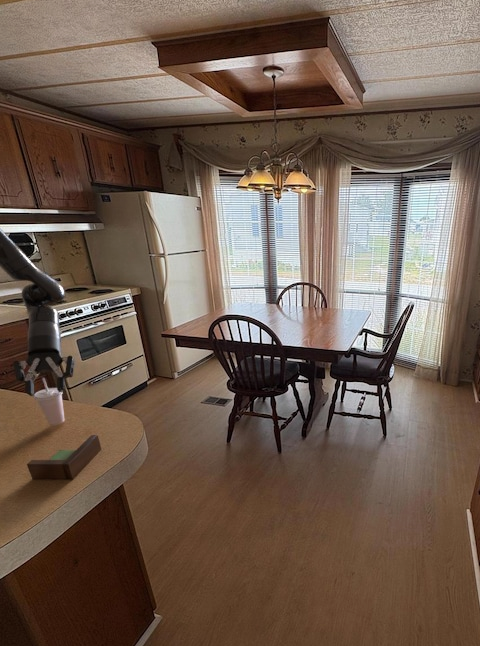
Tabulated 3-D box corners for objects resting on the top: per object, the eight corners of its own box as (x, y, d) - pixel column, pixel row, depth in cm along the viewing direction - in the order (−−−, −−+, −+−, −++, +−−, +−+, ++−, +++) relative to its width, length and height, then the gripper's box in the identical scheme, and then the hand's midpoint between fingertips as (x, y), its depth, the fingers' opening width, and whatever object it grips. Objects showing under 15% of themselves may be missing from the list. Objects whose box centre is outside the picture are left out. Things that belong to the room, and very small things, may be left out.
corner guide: (27, 479, 80) (21, 464, 78) (62, 449, 91) (57, 434, 89) (73, 479, 80) (68, 464, 79) (101, 449, 91) (97, 434, 90)
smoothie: (67, 413, 105) (55, 372, 99) (72, 422, 101) (60, 379, 95) (41, 421, 100) (27, 377, 95) (45, 430, 96) (30, 385, 91)
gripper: (7, 336, 94) (6, 392, 89) (70, 331, 100) (72, 384, 95) (19, 348, 101) (19, 401, 95) (77, 343, 106) (80, 393, 101)
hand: (45, 392), depth 95 cm, fingers closed on smoothie, 6 cm apart
